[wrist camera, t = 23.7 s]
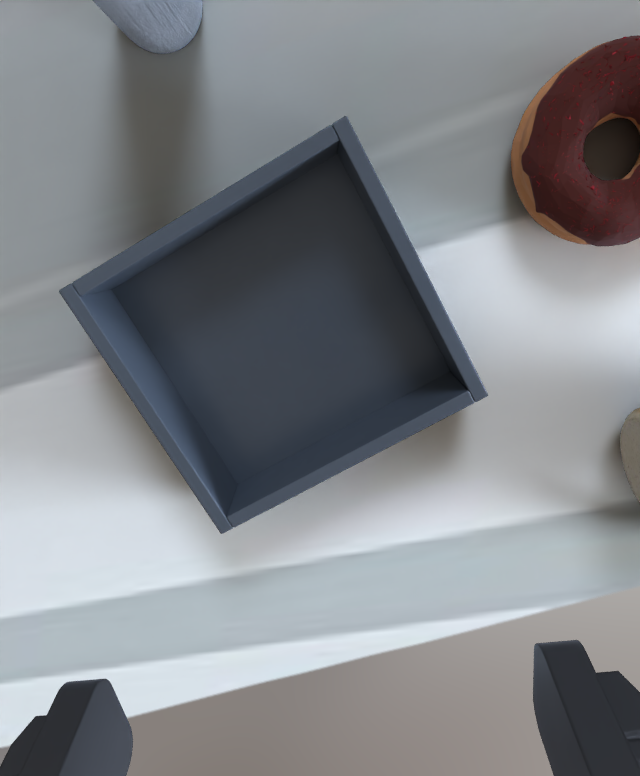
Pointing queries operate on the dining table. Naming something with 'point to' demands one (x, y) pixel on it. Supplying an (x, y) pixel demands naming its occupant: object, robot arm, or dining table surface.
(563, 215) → the donut
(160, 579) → the dining table surface
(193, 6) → the white and black tumbler
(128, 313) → the dark grey open tray
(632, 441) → the ceramic mug
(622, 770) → the robot arm
